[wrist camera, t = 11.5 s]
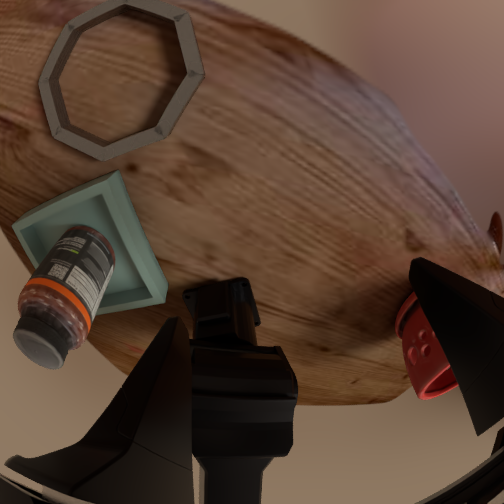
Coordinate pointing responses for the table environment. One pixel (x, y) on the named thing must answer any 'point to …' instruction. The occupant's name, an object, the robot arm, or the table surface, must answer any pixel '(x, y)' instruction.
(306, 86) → the table surface
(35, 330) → the supplement bottle
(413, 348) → the plant pot
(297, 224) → the table surface
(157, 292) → the tray
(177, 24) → the holder ring
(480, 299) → the robot arm
